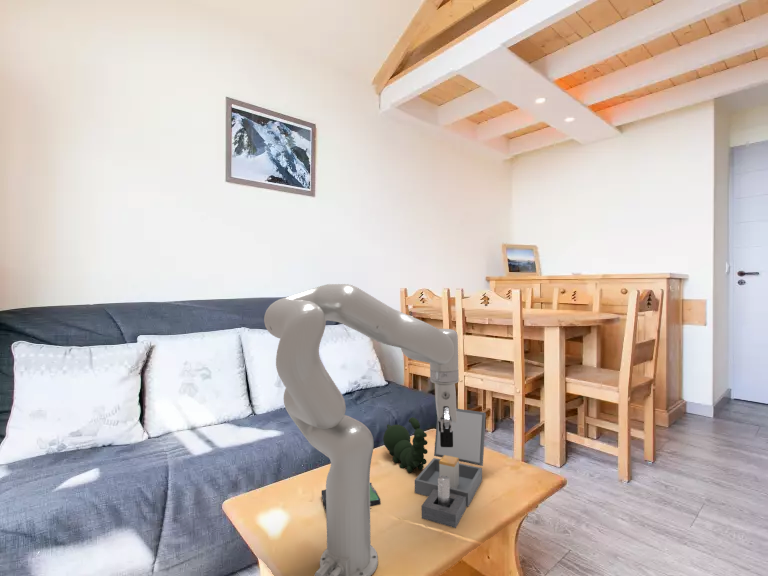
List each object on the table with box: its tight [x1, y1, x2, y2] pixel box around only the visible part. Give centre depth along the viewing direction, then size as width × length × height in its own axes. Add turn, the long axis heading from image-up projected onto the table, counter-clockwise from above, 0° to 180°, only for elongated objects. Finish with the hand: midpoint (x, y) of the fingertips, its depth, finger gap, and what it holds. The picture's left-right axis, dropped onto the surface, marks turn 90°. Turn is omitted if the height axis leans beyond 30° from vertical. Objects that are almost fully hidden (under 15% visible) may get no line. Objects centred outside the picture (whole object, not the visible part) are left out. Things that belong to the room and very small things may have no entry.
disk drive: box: [321, 482, 381, 513], centre depth 109 cm, size 10×3×15 cm
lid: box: [433, 408, 487, 467], centre depth 124 cm, size 16×16×1 cm
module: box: [439, 455, 460, 489], centre depth 115 cm, size 4×4×8 cm
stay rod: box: [438, 476, 450, 508], centre depth 101 cm, size 3×3×10 cm
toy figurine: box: [382, 416, 429, 473], centre depth 132 cm, size 9×19×25 cm
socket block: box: [421, 489, 467, 529], centre depth 101 cm, size 9×9×4 cm
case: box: [414, 457, 483, 508], centre depth 115 cm, size 16×16×4 cm
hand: (445, 438), depth 104 cm, fingers open, 9 cm apart
